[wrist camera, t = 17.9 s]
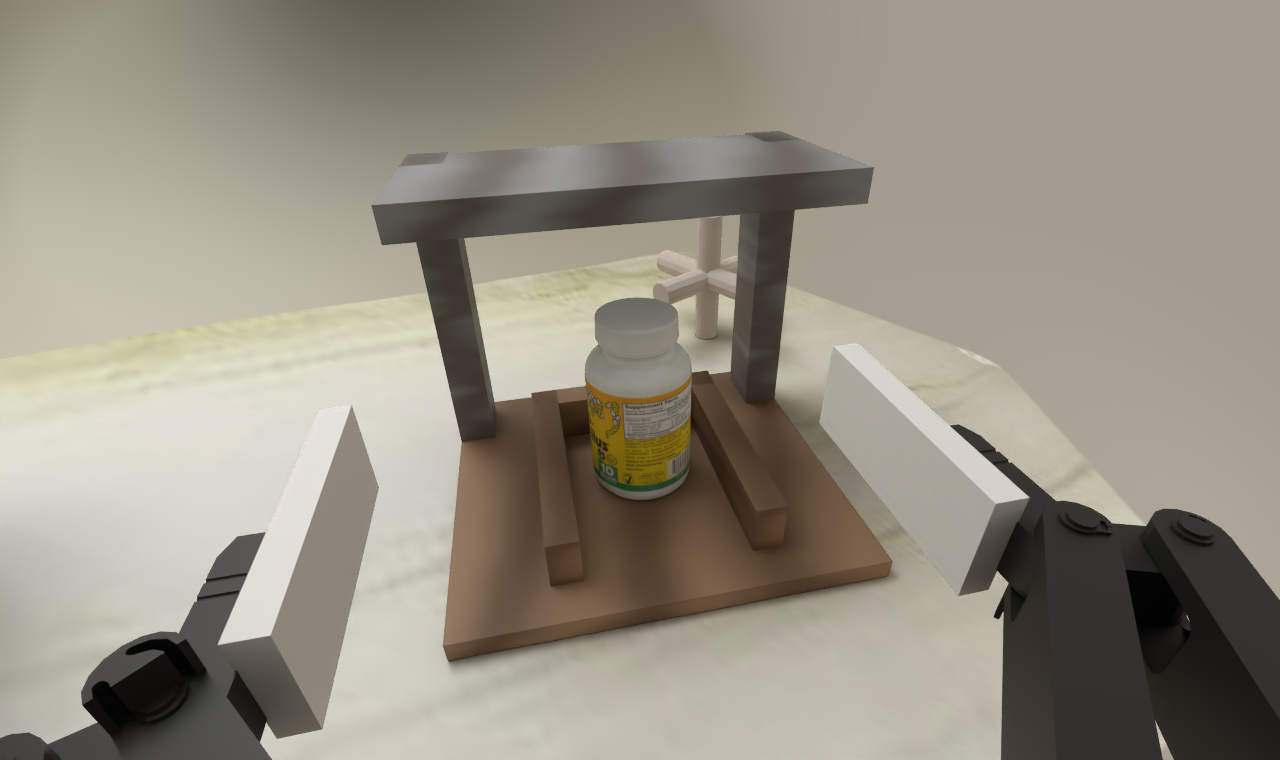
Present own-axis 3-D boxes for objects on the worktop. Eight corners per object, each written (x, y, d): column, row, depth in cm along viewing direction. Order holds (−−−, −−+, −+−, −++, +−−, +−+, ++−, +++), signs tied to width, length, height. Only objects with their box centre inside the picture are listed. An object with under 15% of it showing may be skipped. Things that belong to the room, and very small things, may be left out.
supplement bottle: (700, 496, 31) (706, 333, 26) (598, 510, 31) (585, 345, 26) (677, 436, 36) (679, 287, 31) (589, 447, 35) (575, 296, 30)
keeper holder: (447, 660, 25) (323, 272, 16) (467, 418, 40) (410, 151, 31) (888, 575, 28) (989, 211, 19) (751, 381, 43) (772, 128, 34)
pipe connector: (707, 377, 43) (712, 245, 38) (621, 332, 50) (616, 214, 45) (792, 335, 49) (806, 213, 44) (705, 299, 55) (708, 190, 50)
